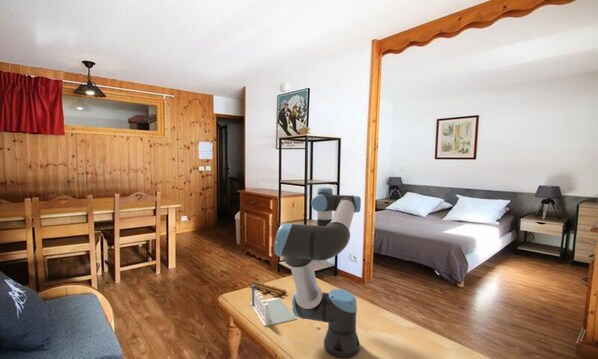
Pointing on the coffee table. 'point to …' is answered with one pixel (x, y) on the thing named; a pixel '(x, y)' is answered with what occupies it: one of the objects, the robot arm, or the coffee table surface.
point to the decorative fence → (268, 289)
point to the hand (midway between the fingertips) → (323, 263)
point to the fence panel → (261, 305)
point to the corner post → (254, 287)
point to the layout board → (276, 312)
